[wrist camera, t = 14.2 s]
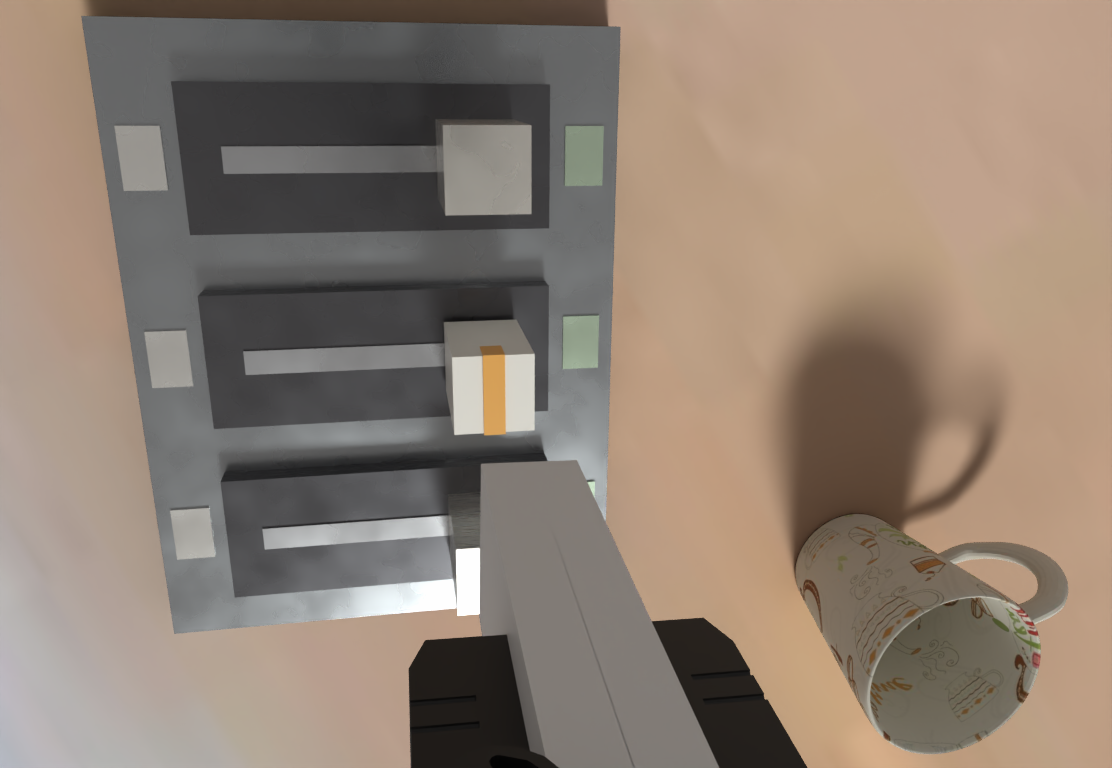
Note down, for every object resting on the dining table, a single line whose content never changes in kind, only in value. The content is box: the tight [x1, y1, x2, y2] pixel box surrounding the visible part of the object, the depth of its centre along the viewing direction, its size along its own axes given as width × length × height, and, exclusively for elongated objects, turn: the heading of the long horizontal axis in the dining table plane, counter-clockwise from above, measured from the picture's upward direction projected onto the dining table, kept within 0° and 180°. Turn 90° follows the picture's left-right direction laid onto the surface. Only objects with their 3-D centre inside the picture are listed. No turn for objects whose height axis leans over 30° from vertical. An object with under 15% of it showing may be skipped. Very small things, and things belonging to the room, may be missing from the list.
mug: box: [795, 514, 1068, 754], centre depth 44 cm, size 8×13×10 cm, turn 108°
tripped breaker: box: [444, 320, 535, 435], centre depth 35 cm, size 3×3×5 cm
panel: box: [81, 16, 620, 634], centre depth 36 cm, size 26×20×8 cm
